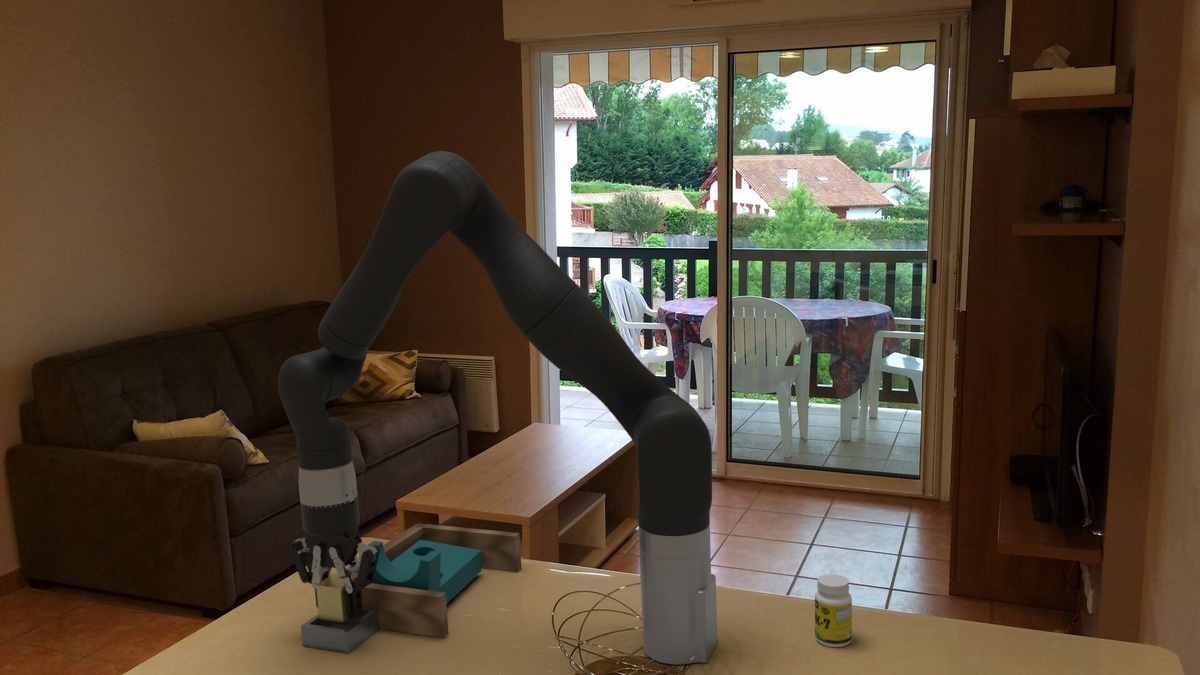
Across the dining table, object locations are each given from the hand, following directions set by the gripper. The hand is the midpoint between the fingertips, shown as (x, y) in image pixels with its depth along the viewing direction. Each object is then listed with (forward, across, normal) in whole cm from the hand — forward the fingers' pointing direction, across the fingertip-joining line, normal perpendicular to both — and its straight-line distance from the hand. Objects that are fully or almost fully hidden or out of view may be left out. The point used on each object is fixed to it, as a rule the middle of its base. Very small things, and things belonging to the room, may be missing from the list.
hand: (340, 612), depth 134 cm
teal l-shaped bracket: (+4, +4, +15) cm, 16 cm away
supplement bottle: (+4, +65, +18) cm, 67 cm away
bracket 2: (+4, +4, +16) cm, 17 cm away
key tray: (+4, 0, 0) cm, 4 cm away
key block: (0, 0, 0) cm, 0 cm away
